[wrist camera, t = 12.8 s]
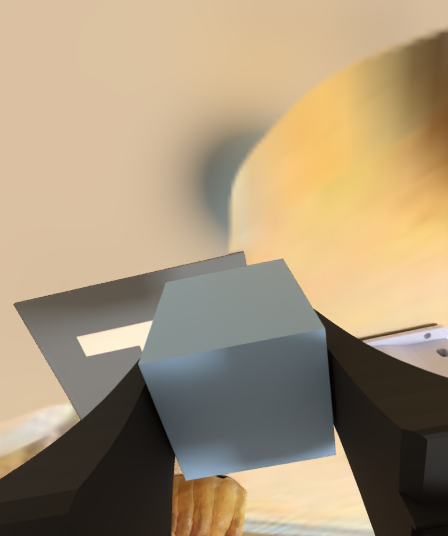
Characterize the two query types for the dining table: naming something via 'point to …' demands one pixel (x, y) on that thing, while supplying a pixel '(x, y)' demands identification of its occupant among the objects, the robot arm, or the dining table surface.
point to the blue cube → (239, 371)
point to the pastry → (208, 507)
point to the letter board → (103, 327)
